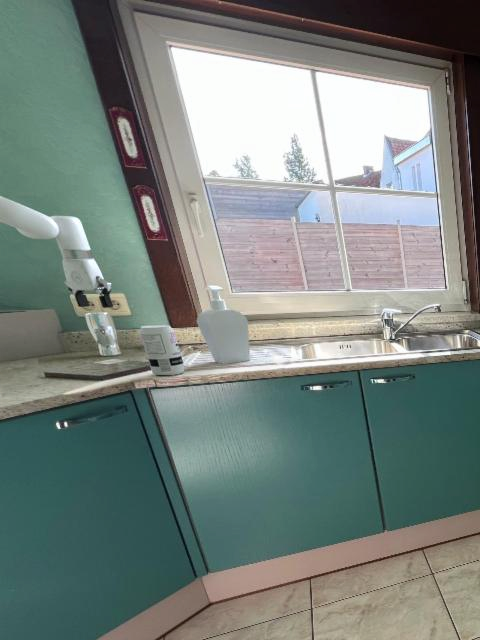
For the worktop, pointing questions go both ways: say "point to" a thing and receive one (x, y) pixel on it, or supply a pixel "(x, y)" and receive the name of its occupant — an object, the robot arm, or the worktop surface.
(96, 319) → the beer glass
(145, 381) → the worktop surface
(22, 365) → the worktop surface
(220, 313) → the soap bottle
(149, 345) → the supplement can
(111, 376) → the grid board
